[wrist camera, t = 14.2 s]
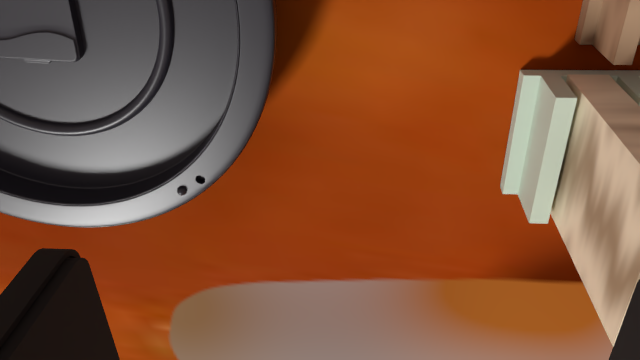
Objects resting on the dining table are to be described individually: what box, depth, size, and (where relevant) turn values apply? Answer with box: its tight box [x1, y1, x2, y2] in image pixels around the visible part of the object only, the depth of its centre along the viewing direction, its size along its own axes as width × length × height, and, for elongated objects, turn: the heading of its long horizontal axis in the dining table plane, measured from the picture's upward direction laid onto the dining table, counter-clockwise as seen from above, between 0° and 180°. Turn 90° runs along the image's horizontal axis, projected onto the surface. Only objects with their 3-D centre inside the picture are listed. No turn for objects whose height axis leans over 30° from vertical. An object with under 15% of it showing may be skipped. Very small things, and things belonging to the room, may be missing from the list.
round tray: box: [0, 0, 277, 227], centre depth 34 cm, size 30×6×30 cm
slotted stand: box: [500, 70, 640, 224], centre depth 36 cm, size 9×8×4 cm
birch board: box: [550, 74, 640, 347], centre depth 31 cm, size 9×2×14 cm, turn 2°
